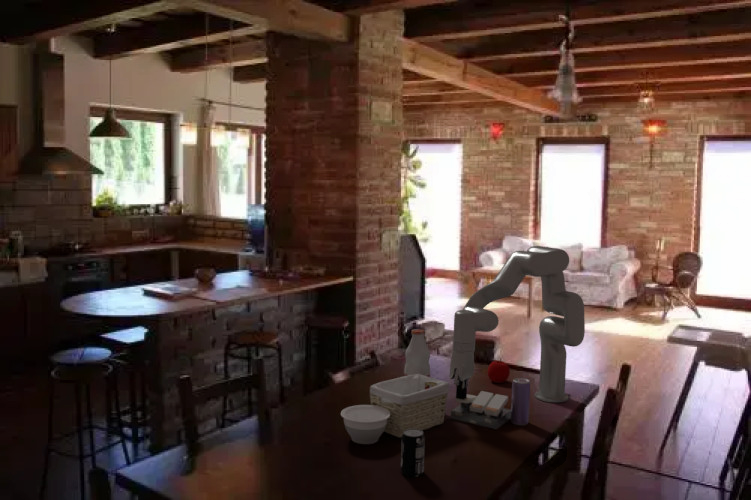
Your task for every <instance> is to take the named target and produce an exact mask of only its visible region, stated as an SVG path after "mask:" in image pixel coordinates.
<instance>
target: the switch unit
mask: <svg viewBox="0 0 751 500" xmlns="http://www.w3.org/2000/svg"><path fill="white" fill-rule="evenodd" d="M472 403H473V402H472ZM472 403H462V402H460V404H459V405H457V406H456V407H455V408H453V409H451V410H450V419H451V420H453V421H454V420H455V421H460V422H464V423H467V424H472V425H476V426H481V427H485V428H489V429H493V430H497V429H499V428H501V426H503V425H504V424H506V423H507V422H508V421H511V409H509V408H505V407H503V409H502V410H501V411H500V413H499V414H498V416H492V415H488V414H485V412H484V411H483V413H479V412H474V411H470V405H471V404H472Z"/></svg>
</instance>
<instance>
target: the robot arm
mask: <svg viewBox="0 0 751 500" xmlns="http://www.w3.org/2000/svg"><path fill="white" fill-rule="evenodd" d="M569 265H570V256H569V254H568V252H567V251H566V250H564V249H561V248H555V247H548V246H543V245H542V246H540V245H533V246H530V247H528V248H527V250H516V251H514V252H512V253H511V254H510V255H509V256H508V257H507V260H506V261H505V263H504V264H503V266H502V267H501V269H500V270H499V272H498V273H497V275H495V277H494V279H493V280H492V281H490V282H489V283H487V284H486V285H484V286H482V287H481V288H479V289H478V290H477V291H476V292H474V293H473V294H472V295H471V296H470V297H469V299H468V300H467V302H466V303H465V305H464V306H463V308H462V309H459V310H457V311H456V312H455V313H454V319H453V336H452V338H453V339H452V354H451V358H450V367H449V379H450V380H453V385H455V388H456V389H455V390H456V392H455V393H456V394H455V398H458V399H463V400H464V399H465V398H466V397H467V394H468V393H467V390H468V384H469V380H470V379H471V377H472V376H474V371H475V369H474V367H475V355H474V354H475V351H476V334H477V332H482V333H489V332H492V331H494V330H495V329H497V327H498V325H499V317H498V315H497V314H496V313H495V312H494V311H492V310H489V309H487V308H486V306H487V305H489V304H490V303H493V302H495V301H498V300H501V299H506V298H508V297H511V296H513V295H514V294H515V292H516V291H517V289H518V287H519V286H520V284H521V283H522V282H523V280H524V279H525V277H526V276H528V277H536V278H540V279H541V280H540V282H541V303H542V308H543V310H544V311H545V312H547V313H549V314H551V315H548V316H545V317H543V318H542V320H541V321H540V323H539V327H538V328H539V329H538V330H539V339H540V360H539V361H540V363H539V387H538V390H536V391H535V393H534V397H535V398H536V399H537V400H539V401H542V402H547V403H558V404H559V403H565V402H567V401H569V395H568V394H567V393H566V391H565V389H566V388H565V387H566V374H567V372H566V370H567V349H566V346H567V347H573V348H574V347H578V346H580V345H581V344H582V343H583V341H584V338H585V333H586V331H585V326H586V325H585V322H586V321H585V303H584V300H583V299H582V296H580V295H579V293H576V292H573V291H570V290H569V291H567V289H566V284H565V282H566V281H565V274H564V271H565V270H566V269H568V267H569ZM485 308H486V309H485Z"/></svg>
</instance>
